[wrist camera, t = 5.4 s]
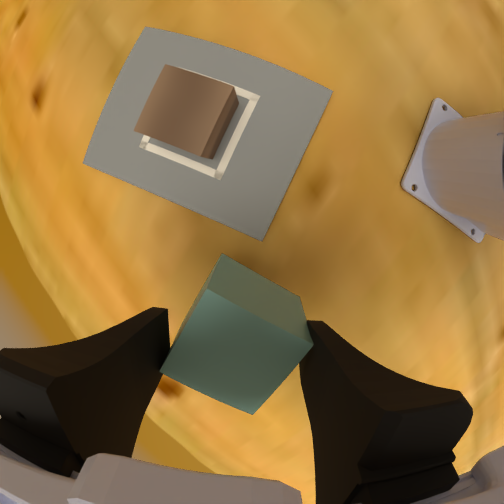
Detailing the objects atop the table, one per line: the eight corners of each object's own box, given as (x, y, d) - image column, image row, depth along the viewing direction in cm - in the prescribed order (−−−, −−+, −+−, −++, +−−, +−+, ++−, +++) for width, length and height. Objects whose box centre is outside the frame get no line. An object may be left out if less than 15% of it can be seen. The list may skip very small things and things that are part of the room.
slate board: (330, 93, 17) (333, 90, 16) (261, 239, 20) (262, 241, 19) (148, 29, 16) (145, 26, 15) (86, 163, 18) (82, 163, 18)
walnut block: (239, 103, 17) (234, 86, 13) (212, 159, 18) (200, 156, 14) (183, 83, 16) (165, 63, 13) (157, 138, 17) (133, 131, 14)
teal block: (299, 297, 13) (314, 344, 9) (254, 358, 14) (252, 414, 10) (222, 253, 13) (206, 288, 9) (182, 321, 14) (159, 371, 10)
